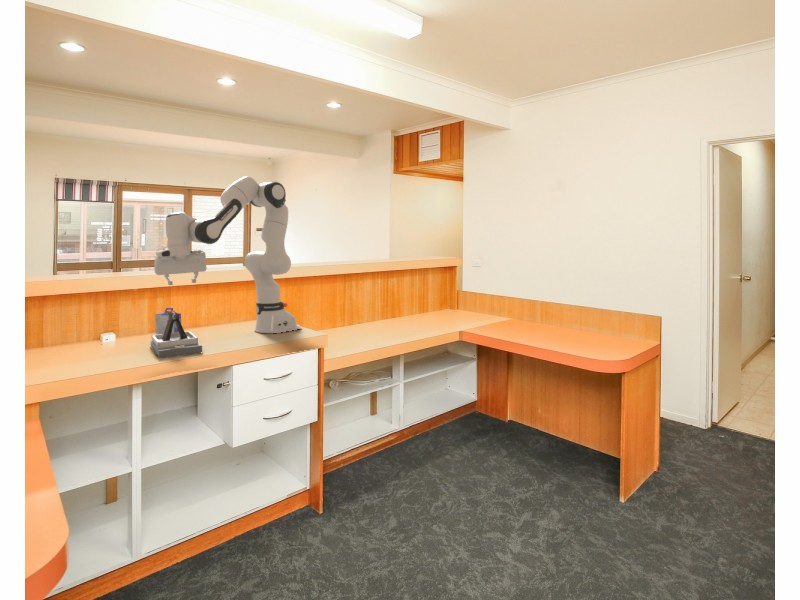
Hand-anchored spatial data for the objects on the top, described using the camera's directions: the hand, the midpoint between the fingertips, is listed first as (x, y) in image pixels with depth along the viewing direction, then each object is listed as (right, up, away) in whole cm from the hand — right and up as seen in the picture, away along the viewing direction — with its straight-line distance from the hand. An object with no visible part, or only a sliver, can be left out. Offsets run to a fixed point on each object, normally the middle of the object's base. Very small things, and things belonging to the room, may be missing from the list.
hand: (182, 283), depth 209 cm
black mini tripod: (-1, -24, -4) cm, 24 cm away
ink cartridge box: (-11, -25, +11) cm, 30 cm away
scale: (0, -28, -5) cm, 28 cm away
